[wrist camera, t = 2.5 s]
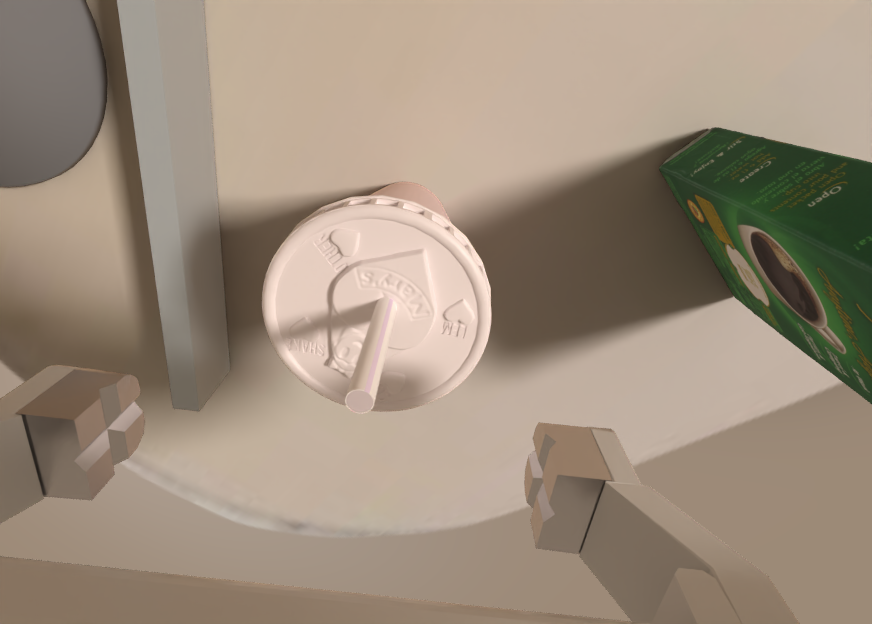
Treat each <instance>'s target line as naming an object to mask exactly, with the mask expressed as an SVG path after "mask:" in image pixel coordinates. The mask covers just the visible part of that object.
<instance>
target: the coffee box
mask: <svg viewBox="0 0 872 624" xmlns="http://www.w3.org/2000/svg"><path fill="white" fill-rule="evenodd" d="M659 170H660V172H661V173H662V175H663V176H664V178H665V180H666V181H667V183H668V185H669V186H670V188H671V190H672V192H673V194H674V196H675V198H676V200H677V201H678V203H679V204H680V206H681V207H682V208H683V210H684V211H685V213H686V215H687V216H688V218H689V220H690V221H691V223H692V225H693V227H694V229H695V230H696V232H697V234H698V236H699V237H700V239H701V241H702V242H703V244H704V246H705V247H706V249H707V251H708V253H709V254H710V256H711V258H712V259H713V261H714V263H715V265H716V266H717V268H718V270H719V271H720V273H721V275H722V276H723V278H724V280H725V281H726V283H727V285H728V287H729V288H730V290H731V292H732V293H733V295H734V297H735V298H736V299H737V300H739V301H740V302H741V303H743V304H744V305H745V306H746V307H747V308H748V309H750V310H751V311H752V312H753V313H754V314H756V315H757V316H758V317H760V318H761V319H762V320H763V321H765V322H766V323H767V324H768V325H770V326H771V327H772V328H774V329H775V330H776V331H777V332H779V333H780V334H781V335H782V336H784V337H785V338H786V339H788V340H789V341H790V342H791V343H793V344H794V345H795V346H797V347H798V348H799V349H800V350H802V351H803V352H804V353H806V354H807V355H808V356H810V357H811V358H812V359H814V360H815V361H816V362H818V363H819V364H820V365H821V366H823V367H824V368H825V369H827V370H828V371H829V372H831V373H832V374H834V375H835V376H836V377H837V378H838V379H840V380H841V381H842V382H844V383H845V384H846V385H848V386H849V387H850V388H851V389H853V390H854V391H856V392H857V393H858V394H859V395H861V396H862V397H863V398H865V399H866V400H867V401H868V402H870V403H871V404H872V163H871V162H867V161H863V160H859V159H854V158H850V157H846V156H841V155H836V154H832V153H828V152H823V151H818V150H814V149H810V148H805V147H801V146H797V145H792V144H788V143H784V142H779V141H775V140H770V139H766V138H764V137H758V136H752V135H748V134H744V133H740V132H736V131H731V130H726V129H722V128H717V127H715V128H711V129H709V130H708V131H706V132H705V133H704V134H702V135H701V136H699V137H698V138H697V139H695V140H693V141H692V142H691V143H689V144H688V145H686V146H685V147H683V148H682V149H681V150H679V151H678V152H676V153H675V154H673V155H672V156H671V157H669V158H668V159H666V161H665V162H664V163H663V164H662V165H661V166H660V167H659Z"/></svg>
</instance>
